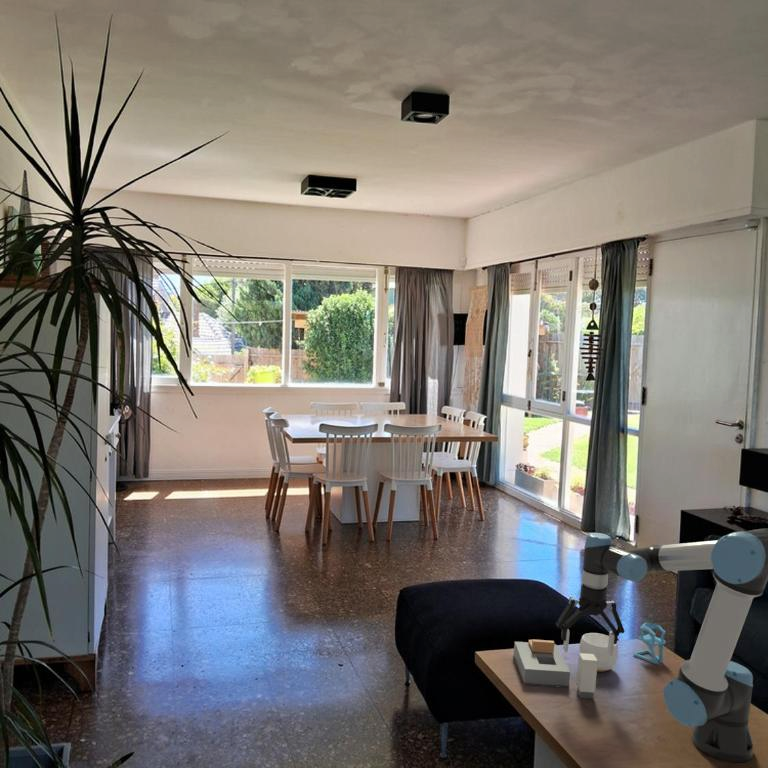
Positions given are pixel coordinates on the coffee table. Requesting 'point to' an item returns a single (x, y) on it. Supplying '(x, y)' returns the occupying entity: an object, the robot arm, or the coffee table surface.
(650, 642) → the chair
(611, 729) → the coffee table surface
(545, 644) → the block
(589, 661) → the white rectangular block
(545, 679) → the socket plate
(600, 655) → the cup
